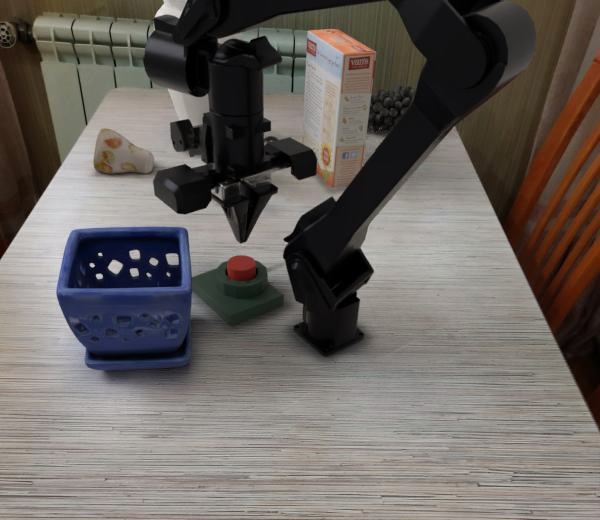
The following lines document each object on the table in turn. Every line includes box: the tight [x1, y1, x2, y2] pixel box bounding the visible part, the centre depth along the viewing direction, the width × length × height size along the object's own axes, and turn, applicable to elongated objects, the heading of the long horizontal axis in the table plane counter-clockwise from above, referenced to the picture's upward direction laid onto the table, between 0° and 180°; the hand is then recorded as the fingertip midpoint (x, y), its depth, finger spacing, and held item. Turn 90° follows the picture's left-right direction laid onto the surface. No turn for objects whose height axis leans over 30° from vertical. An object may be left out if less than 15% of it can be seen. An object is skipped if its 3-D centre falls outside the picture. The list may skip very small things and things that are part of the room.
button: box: [226, 254, 256, 281], centre depth 76 cm, size 4×4×2 cm
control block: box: [192, 259, 284, 327], centre depth 78 cm, size 10×8×4 cm
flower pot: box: [55, 226, 193, 371], centre depth 67 cm, size 13×13×12 cm
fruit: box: [367, 85, 416, 133], centre depth 120 cm, size 9×8×15 cm
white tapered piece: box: [92, 127, 155, 175], centre depth 102 cm, size 8×10×10 cm
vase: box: [153, 0, 243, 126], centre depth 103 cm, size 15×15×29 cm
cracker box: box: [301, 28, 377, 188], centre depth 100 cm, size 14×6×21 cm, turn 22°
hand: (241, 241), depth 74 cm, fingers closed
